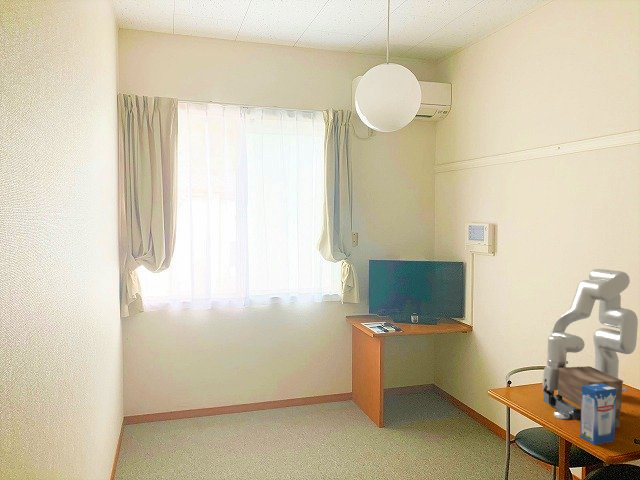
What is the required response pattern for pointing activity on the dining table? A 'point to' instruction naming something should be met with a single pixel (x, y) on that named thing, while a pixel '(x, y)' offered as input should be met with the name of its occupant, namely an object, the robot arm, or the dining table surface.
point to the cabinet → (580, 376)
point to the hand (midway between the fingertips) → (555, 404)
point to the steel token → (561, 414)
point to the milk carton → (598, 413)
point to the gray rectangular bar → (563, 406)
